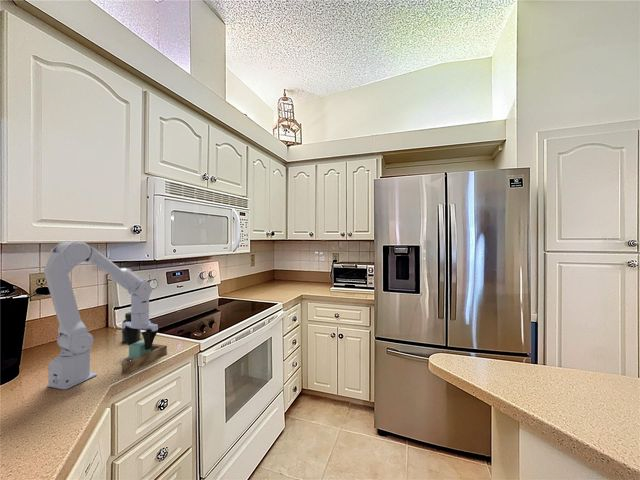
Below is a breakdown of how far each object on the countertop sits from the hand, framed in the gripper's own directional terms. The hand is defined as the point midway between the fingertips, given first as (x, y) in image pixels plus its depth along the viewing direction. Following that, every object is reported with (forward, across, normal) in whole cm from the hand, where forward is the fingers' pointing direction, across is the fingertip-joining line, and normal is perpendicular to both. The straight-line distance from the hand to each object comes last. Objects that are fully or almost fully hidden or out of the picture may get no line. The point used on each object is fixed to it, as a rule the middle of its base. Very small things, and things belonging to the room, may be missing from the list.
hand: (140, 348), depth 106 cm
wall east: (+3, -2, -5) cm, 6 cm away
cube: (+3, 0, 0) cm, 3 cm away
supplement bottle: (+4, +19, -13) cm, 23 cm away
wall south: (+3, -6, +4) cm, 8 cm away
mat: (+3, 0, 0) cm, 3 cm away
